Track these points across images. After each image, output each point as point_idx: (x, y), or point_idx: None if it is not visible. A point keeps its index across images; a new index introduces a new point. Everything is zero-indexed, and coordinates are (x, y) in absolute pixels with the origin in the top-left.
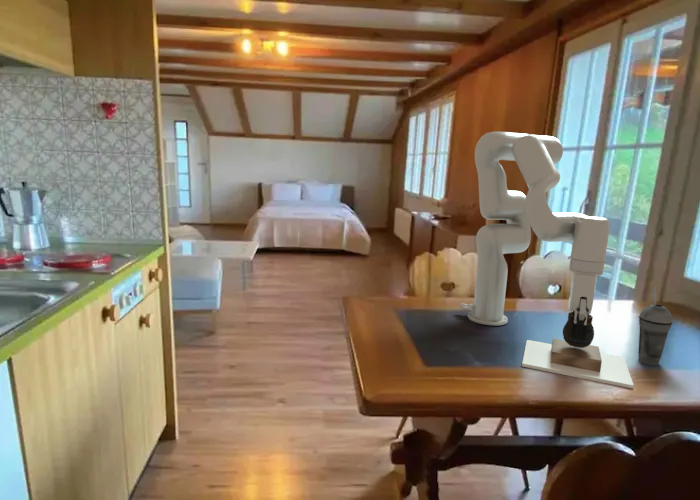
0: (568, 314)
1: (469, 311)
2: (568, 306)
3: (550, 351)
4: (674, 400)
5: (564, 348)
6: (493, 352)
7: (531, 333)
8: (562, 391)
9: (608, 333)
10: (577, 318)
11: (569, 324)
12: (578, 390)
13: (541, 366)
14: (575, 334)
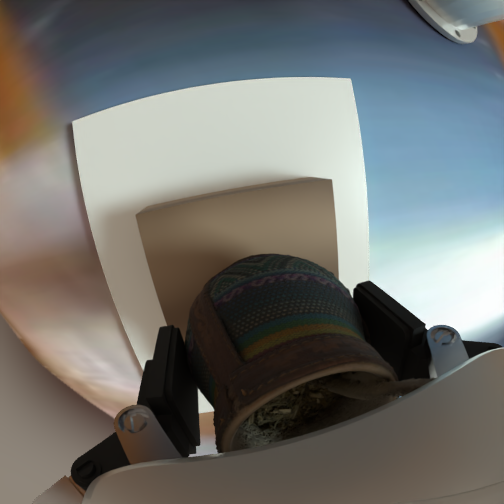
0: (300, 366)
1: None
2: (325, 439)
3: (280, 177)
4: None
5: (224, 254)
6: (150, 7)
7: (430, 101)
8: (12, 280)
9: (489, 291)
10: (75, 465)
11: (221, 344)
12: (45, 314)
13: (87, 187)
14: (147, 365)
